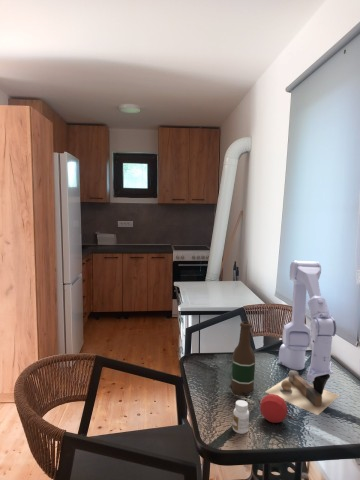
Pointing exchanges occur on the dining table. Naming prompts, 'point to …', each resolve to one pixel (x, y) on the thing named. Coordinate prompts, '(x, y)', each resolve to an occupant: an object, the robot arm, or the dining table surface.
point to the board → (301, 396)
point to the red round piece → (273, 408)
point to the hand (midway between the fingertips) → (317, 394)
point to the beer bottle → (243, 363)
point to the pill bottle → (241, 417)
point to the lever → (305, 388)
